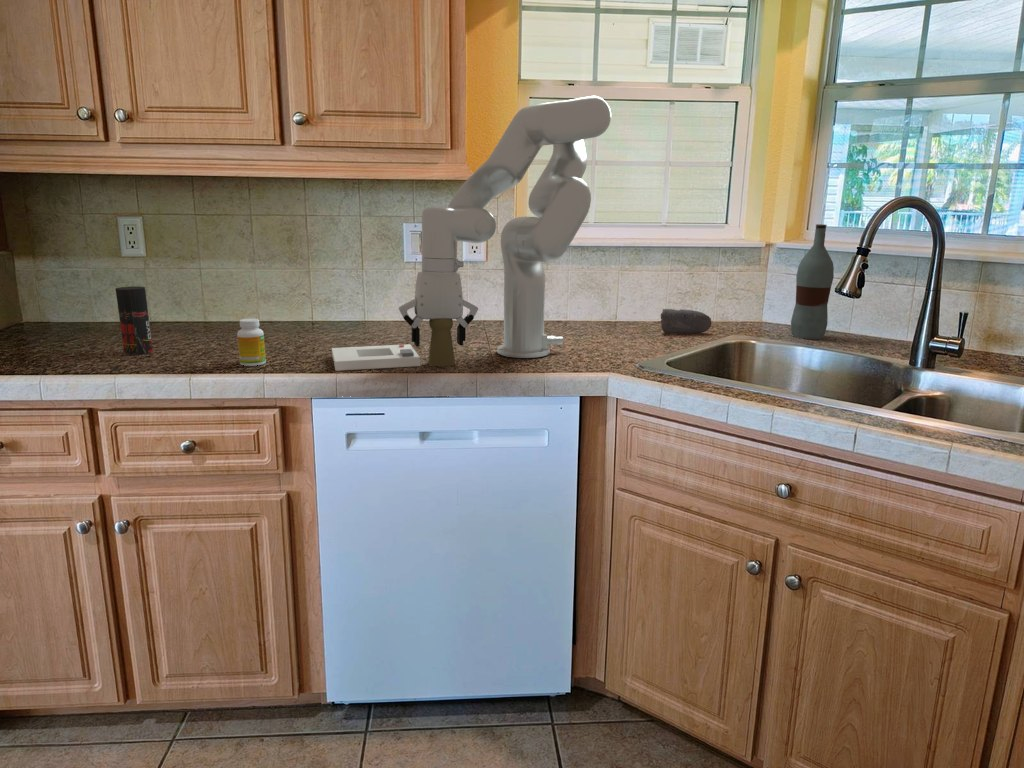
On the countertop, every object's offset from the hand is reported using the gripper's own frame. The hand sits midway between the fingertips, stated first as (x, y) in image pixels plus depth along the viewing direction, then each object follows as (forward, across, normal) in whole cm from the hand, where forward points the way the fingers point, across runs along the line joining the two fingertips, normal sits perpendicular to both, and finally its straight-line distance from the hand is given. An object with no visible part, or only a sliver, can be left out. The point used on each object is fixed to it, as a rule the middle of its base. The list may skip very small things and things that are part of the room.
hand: (438, 344), depth 152 cm
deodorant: (+6, +65, -28) cm, 71 cm away
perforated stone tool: (+2, -73, -19) cm, 75 cm away
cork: (+4, -1, 0) cm, 5 cm away
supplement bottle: (+6, +39, -10) cm, 41 cm away
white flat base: (+5, +13, -6) cm, 15 cm away
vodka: (+2, -104, -7) cm, 104 cm away
